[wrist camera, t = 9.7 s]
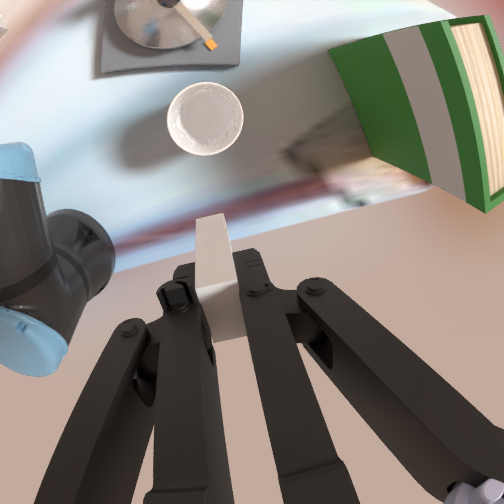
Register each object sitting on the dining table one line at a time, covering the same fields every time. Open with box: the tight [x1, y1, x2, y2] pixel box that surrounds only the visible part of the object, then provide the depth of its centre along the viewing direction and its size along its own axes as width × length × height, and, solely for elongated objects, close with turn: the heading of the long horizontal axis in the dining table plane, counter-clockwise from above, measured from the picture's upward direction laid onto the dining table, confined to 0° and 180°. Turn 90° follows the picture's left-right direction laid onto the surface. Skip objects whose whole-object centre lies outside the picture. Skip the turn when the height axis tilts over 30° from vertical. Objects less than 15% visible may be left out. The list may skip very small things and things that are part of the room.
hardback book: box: [328, 15, 504, 214], centre depth 28 cm, size 18×7×24 cm, turn 27°
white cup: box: [167, 82, 244, 156], centre depth 34 cm, size 8×8×10 cm
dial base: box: [101, 0, 243, 73], centre depth 29 cm, size 18×18×2 cm
